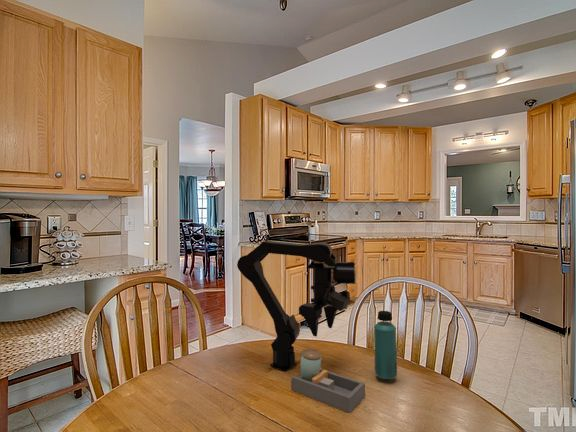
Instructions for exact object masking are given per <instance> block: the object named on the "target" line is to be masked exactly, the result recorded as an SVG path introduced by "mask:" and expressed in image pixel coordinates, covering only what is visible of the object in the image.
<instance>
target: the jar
mask: <svg viewBox="0 0 576 432" xmlns="http://www.w3.org/2000/svg"><path fill="white" fill-rule="evenodd" d="M321 354H322V353H321V352H320V351H319V350H317V349H315V348H305V349H303V350H302V352H301V359H300V369H299V377H300V378H301V379H304V380H307V381H310V382H312V378H313V377H315V376H316V375H318V374H319V373H320V369H321V366H322V365H321V363H322V355H321Z"/></svg>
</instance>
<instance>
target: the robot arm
mask: <svg viewBox="0 0 576 432" xmlns="http://www.w3.org/2000/svg"><path fill="white" fill-rule="evenodd" d="M269 254H273V255H284V256H295V257H301V258H305V259H307V260H311V261H310V263H309V265H307V266H306V268H307V269H311V270H312V269H313V271H312V272H313V276H312V277H313V285H310V290H313V298H310V302H306V303H303V304H301V305H299V306H298V315H300V316H301V317H303V318H304V320H305V322H306V324H307V325H308V328H309V330H310V332H311V333H312V336H313V337H314V338H315V337H317V336H318V332H319V331H318V330H319V320H320V319H321V318H322V317H323V315H322V314H323V311H324V315H325V316H324V317H325V319H326V324H327V327H328V328H329V329H332V328H333V325H334V323H335V318H336V315H337V312H338V311H339V312H341V311H343V310H346V309H347V308H348V305H349V304H350V303H351V295H350V291H347V290H344V291H342V292H341V291H339V292H338V291H336V287H335V285H333V283H332V282H333V281H334V282H336V284H343V285H345V284H346V285H356V278H357V277H356V272H357V271H356V265H355V261H339V260H338V258H337V257H336V256H335V255H334V253H333V247H332V246H331V244H329V243H327V242H324V241H323V242H312V243H306V244H304V243H303V244H302V243H293V242H292V243H291V242H278V241H272V240H265V241H261V243H260V244H259V245H258V246H256V247H255V248H254V249H252V250H251V251H250V252H249V253H247V254H246V255H242V256H241V257H239V259H238V260H237V263H236V267H237V269H238V271H239V272H240V274H242V276H244V277H243V278H246V279H247V280H248V281H249V282H250V283H252V285H253V287H254V289H255V290H256V292H257V294H258V296H259V297H260V299H261V301H262V303H263V305H264V306H265V308H266V309H267V312H268V314H269V315H270V317H271V319H272V321H273V325H274V331H275V333H276V338H275V339H274V340H273V341H272V342H271V344H270V346H271V349H272V359H273V360H272V363H270V364H269V366H270V368H275V369H278V370H280V371H283V372H287V371H288V370H290V369H291V368H293V367H295V366H296V365H297V362H296V353H295V348H294V346H293V345H294V343H296V340H297V339H298V337H299V336H300V333H301V332H300V331H301V329H300V325H301V324H300V323H299V322H298V321H297V320H296V317H295V315H294V314H292V315H288V314H287V313H286V311H285V310H284V308H283V306H282V305H281V303H280V301H279V299H278V297H277V295H276V294H275V292H274V291H273V289H272V287H271V286H270V284H269V281H267V279H266V277H265V274H264V269H263V265H262V261H263V260H264V259H265V258H266V257H267V256H268V255H269ZM332 280H333V281H332Z"/></svg>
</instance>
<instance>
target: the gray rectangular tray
mask: <svg viewBox="0 0 576 432" xmlns="http://www.w3.org/2000/svg"><path fill="white" fill-rule="evenodd" d="M323 370H324V369H323V368H320V372H322V371H323ZM327 371H328V379H331V380H334V388H333V389H329V388H326V387H324V386H321V385H318V384H315V383H312V382H310V381H307V380H304V379H301V378H300V376H299V377H298V376H295V375H292V376H291V377H290V390H291V391H293V392H296V393H298V394H300V395H303V396H306V397H309V398H310V399H313V400H316V401H318V402H320V403H324V404H326V405H329V406H331V407H334V408H336V409H339V410H342V411H344V412H347V413H349V414H351V412H352V411H353V410H354V409H356V407H357V406H358V405H359V404H360V402H361V401H362V400H363V399H365V397H366V382H363V381H360V380H357V379H355V378H351V377H348V376H344V375H343V374H342V375H341V374H339V373H335V372H332V371H329V370H327Z"/></svg>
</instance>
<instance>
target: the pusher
mask: <svg viewBox="0 0 576 432" xmlns="http://www.w3.org/2000/svg"><path fill="white" fill-rule="evenodd" d="M328 371H329V370H326V369H323V371H322V372H320V373H319V374H318V375H316V376H315V377H313V378H312V383H315V384H318V385H321V386H324V387H326V388H329V389H333V388H334V380H331V379H328Z"/></svg>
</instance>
